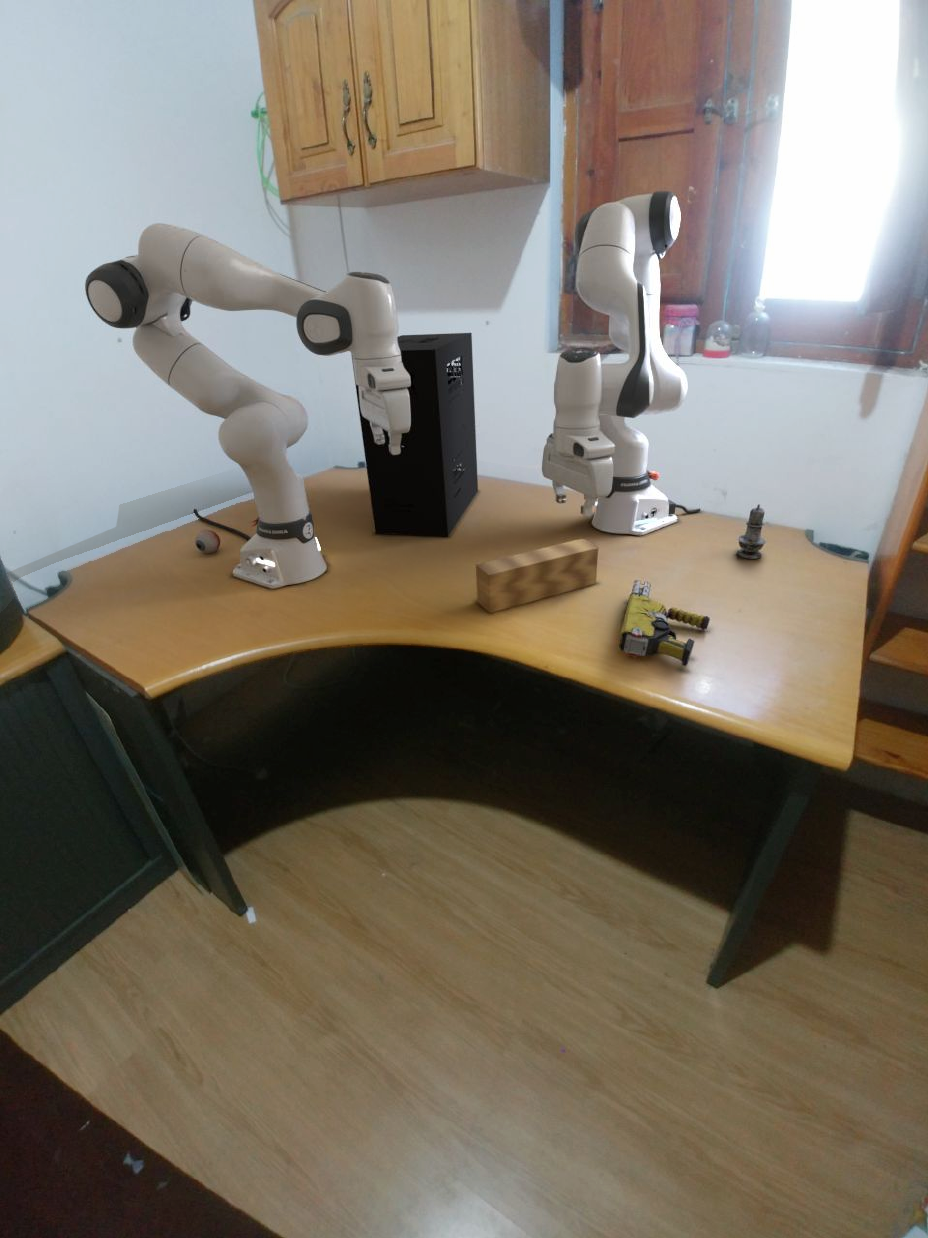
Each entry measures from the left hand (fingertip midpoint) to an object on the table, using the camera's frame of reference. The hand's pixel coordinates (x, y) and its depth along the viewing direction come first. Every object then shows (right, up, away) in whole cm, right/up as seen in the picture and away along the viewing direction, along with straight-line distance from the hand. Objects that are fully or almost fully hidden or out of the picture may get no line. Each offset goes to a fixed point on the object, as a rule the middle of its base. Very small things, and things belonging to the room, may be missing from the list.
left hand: (387, 448), depth 118 cm
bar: (+31, -28, +11) cm, 43 cm away
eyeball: (-51, -16, +39) cm, 66 cm away
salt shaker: (+81, -19, +21) cm, 86 cm away
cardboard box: (+5, -2, +58) cm, 58 cm away
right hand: (+37, -11, +6) cm, 39 cm away
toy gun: (+53, -36, -5) cm, 64 cm away
